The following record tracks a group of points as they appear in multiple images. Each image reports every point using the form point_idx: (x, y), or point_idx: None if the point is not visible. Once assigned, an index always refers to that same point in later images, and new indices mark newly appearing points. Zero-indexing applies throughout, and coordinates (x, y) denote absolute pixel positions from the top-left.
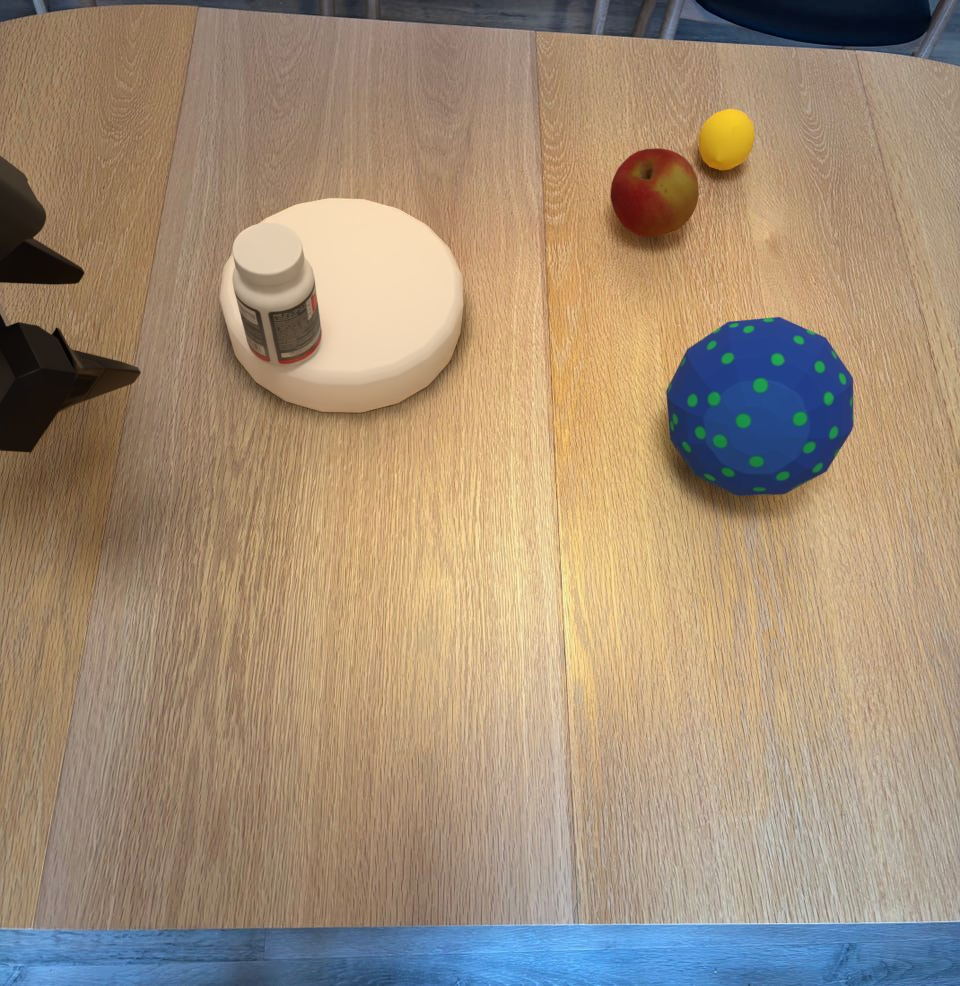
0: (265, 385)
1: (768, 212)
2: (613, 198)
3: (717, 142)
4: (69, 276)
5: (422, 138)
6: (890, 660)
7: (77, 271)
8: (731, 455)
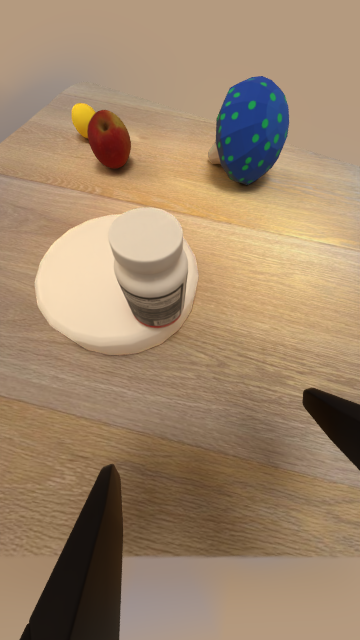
0: (167, 337)
1: None
2: (106, 152)
3: (89, 118)
4: (116, 494)
5: (8, 226)
6: (321, 165)
7: (112, 477)
8: (280, 140)
